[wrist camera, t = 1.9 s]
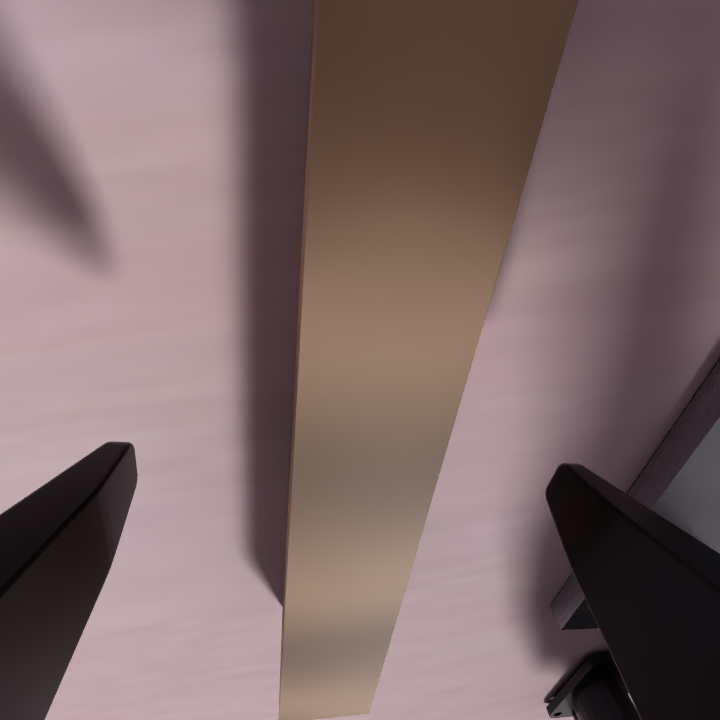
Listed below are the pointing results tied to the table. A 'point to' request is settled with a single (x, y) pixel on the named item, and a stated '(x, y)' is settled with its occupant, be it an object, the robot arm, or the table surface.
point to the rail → (394, 300)
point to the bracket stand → (672, 489)
